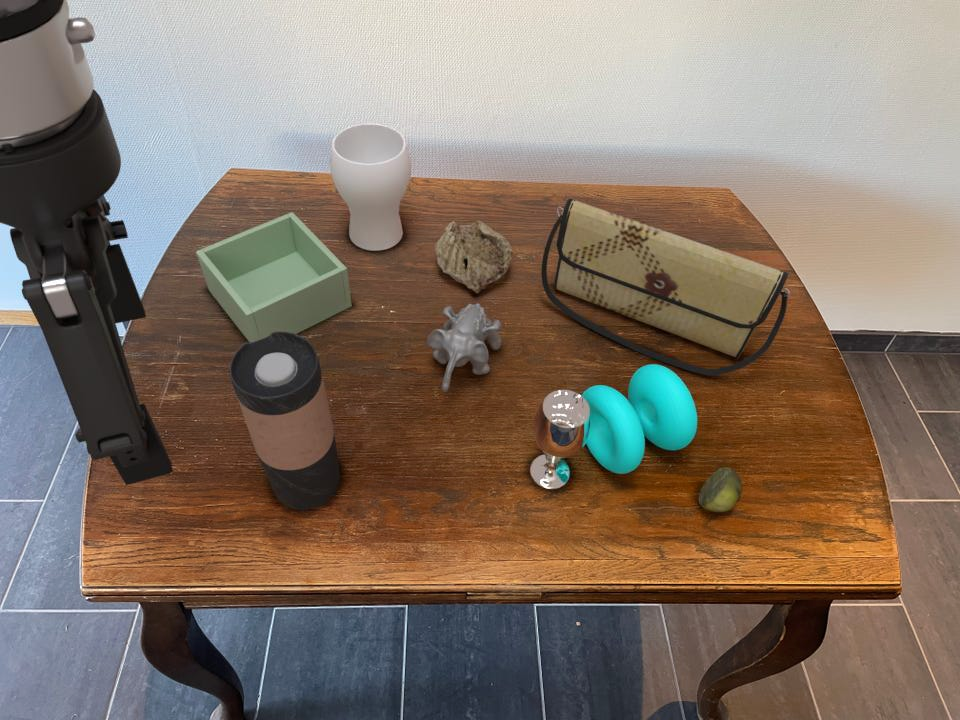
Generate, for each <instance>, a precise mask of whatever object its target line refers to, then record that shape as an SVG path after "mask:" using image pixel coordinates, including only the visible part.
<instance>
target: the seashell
mask: <svg viewBox="0 0 960 720" xmlns="http://www.w3.org/2000/svg"><path fill="white" fill-rule="evenodd" d="M434 252H435V254H436V258H437V265H438V267H439V268H440V269H441V270H442V273H444V274H448V275H449V276H450V278H452V280H453V279H454V281H455V282H457V283H460V284H462V285H465V286H466V288H467V289H469V290H471V291H473V292H474V293H475V294H479V293H480V292H481V290H485V289H486V287H487V286H488V285H489V284H491V283H493V282H496V281H498V280H500V279H501V278H502V276H504V275H506V273H507V271H508V269H509V268H510V266H511V260H512V259H513V254H514V251H513V249H512V246H511V243H510V241H508V240H507V238H506V237H505V236H504V235H502V234H500V233H499V232H497V231H495V230H493V229H492V228H491V227H490V226H489V225H487V224H486V223H485V222H483V221H481V220H477V221H475V222H472V223H470V224H466V225H465V224H462V225H459V224H457V223H456V221H454V220H452V221H451V222H449V223H448V224H447V226H446V227H445V228H444V229H443V233H442V235H441V236H440V238H439V239H438V240H437V242H436V244H435V245H434Z"/></svg>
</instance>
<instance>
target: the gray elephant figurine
mask: <svg viewBox="0 0 960 720" xmlns="http://www.w3.org/2000/svg"><path fill="white" fill-rule="evenodd" d="M485 310H486V309H485V307H482V306H481V304H480V303H479V302H478V303H477V302H476V303H475V304H473V303H467V305H466V307H462V308H460V311H459V312H458V313H455V312H454V310H453V307H452V306H451V305H448V306H446V307H444V308H443V310H442V315H443V316H444V317H447V318H448V320H447V321H446V322H444V324H443V326H442V328H437V329H434V330H432V331H431V332H430V333H429V335H428V337H427V339H426V345H427V346H428V347H429V348H431V349H432V350H434V351H433V353H432V356H433V358H434V360H436V361H437V362H438V363H439V364H441V365H446V364H447V365H446V369H445V372H444V375H443V379H442V383H441V389H442V392H448V390H449V389H450V386H451V378H452V374H453V371H454V368H455V367H456V368H461V367H463V366H465V365H466V364H467V363H468V362H470V364H471V365H472V370H471V371H472V373H473V374H474V375H478V376H480V375H486V374H488V373H489V372H490V371H491V368H490V365H489V363H488V362H489V357H490V356H489V355H490V354H489V350H488V348H487V347H488V346H487V345H486V343H485V341H487V342H488V344H489V347H490V348H491V349H492V350H494V351H498V350H499V349H500V348H501V346H502V344H503V341H502V337H501V336H500V334H499V331H502V327H503V324H502V323H501V322H500V320H498V319H495V320H494V321H492V320H491V319H490V318H488V315H487V314H486V313H485Z"/></svg>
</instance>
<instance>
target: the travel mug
mask: <svg viewBox="0 0 960 720" xmlns="http://www.w3.org/2000/svg"><path fill="white" fill-rule="evenodd" d="M322 372H323V371H322V367H321V363H320V358H319V355H318V352H317V349H316V348H315V346H314V345H313V344H312V343H311V342H310V341H309V340H308V339H306V338H305V337H303V336H302V335H299V334H298V333H297V334H294V333H289V332H273V333H271V334H270V335H269V336H268V337H266V338H263V339H261V340H258V341H255V342H249V341H246V342H244V343H243V344H241V346H239V348H238V349H237V350H236V351H235V353H234V354H233V356H232V358H231V360H230V364H229V377H230V381H231V383H232V386H233V390H234V392H235V395H236V399H237V401H238V404H239V407H240V409H241V412H242V415H243V418H244V421H245V424H246V427H247V430H248V433H249V435H250V439H251V441H252V445H253V447H254V450H255V453H256V455H257V457H258V459H259V462H260V465H261V467H262V469H263V471H264V474H265V476H266V478H267V481H268V483H269V486H270V488H271V489H272V492H273V494H274V496H275V498H276V499H277V500H278V501H279V502H280V503H281V504H282V505H284V507H286V508H289V509H292V510H297V511H309V510H313V509H316V508H319V507H321V506H322V505H324V504H326V503H327V502H328V501H330V500H331V499H332V498H333V496H335V493H336V492H337V490H338V488H339V485H340V480H341V474H340V473H341V472H340V465H339V457H338V450H337V444H336V436H335V430H334V424H333V419H332V414H331V411H330V405H329V400H328V395H327V392H326V391H327V390H326V387H325V383H324V382H325V381H324V377H323V373H322Z"/></svg>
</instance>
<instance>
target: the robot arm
mask: <svg viewBox="0 0 960 720" xmlns="http://www.w3.org/2000/svg"><path fill="white" fill-rule="evenodd" d="M69 6H70V5H69V4H68V1H67V0H0V224H2V225H6V226H8V227H12V228H10V229H9V236H10V239H11V243H12V247H13V250H14V251H15V255H16V258H17V259H18V261H19V262H21V263H22V264H23V265H24V266H25V268H26V270H27V273H28V276H29V279H24V280H22V282H21V286H22V288H21V294H22V297H23V298H24V300H25V301H26V302H27V304H28V306H29V307H30V310H31V311H32V314H33V315H34V317H35V319H36V321H37V323H38V325H39V327H40V329H41V331H42V334H43V336H44V339H45V342H46V344H47V346H48V350H49V352H50V354H51V358H52V360H53V362H54V365H55V367H56V369H57V372H58V375H59V378H60V380H61V383H62V386H63V387H64V391H65V393H66V395H67V398H68V400H69V403H70V406H71V409H72V410H73V413H74V415H75V419H76V421H77V424H78V427H79V428H78V429H77V430H76V432H75V434H74V437H75V439H76V441H77V443H84V442H85V445H86V450H87V454H88V455H90V459H92V460H93V461H98V460H101V459H105V458H110V460H111V462H112V463H113V465H114V467H115V469H116V471H117V472H118V474H119V475H120V477H121V479H122V481H123V483H124V484H125V486H130V485H132V484H136V483H139V482H144V481H147V480H150V479H154V478H158V477H162V476H165V475H170V474H173V473H174V470H173V465H172V461H171V458H170V456H169V454H168V452H167V450H166V447H165V446H164V443H163V441H162V439H161V437H160V435H159V432H158V430H157V427H156V426H155V423H154V421H153V419H152V416H151V415H150V412H149V410H148V408H147V406H146V403H140V401H139V398H138V397H139V396H138V394H137V391H136V388H135V385H134V381H133V378H132V374H131V371H130V367H129V364H128V360H127V358H126V354H125V351H124V348H123V343H122V341H121V337H120V334H119V330H118V327H117V324H120V323H125V322H131V321H135V320H140V319H144V318H147V314H146V310H145V307H144V304H143V302H142V299H141V297H140V294H139V291H138V289H137V285H136V283H135V281H134V279H133V276H132V273H131V271H130V268H129V265H128V263H127V260H126V257H125V255H124V251H123V250H122V247H121V245H120V243H115V244H111V241H117V240H125V239H129V235H128V230H127V227H126V225H125V222H124V220H123V219H121V220H113V221H111V220H109V218H107V217H108V216H111V212H110V210H111V209H112V208H111V204H110V202H108V201H107V199H106V197H105V194H107V193H108V191H109V190H110V189H111V188H112V187H113V186H114V184H115V183H116V182H117V179H118V178H119V175H120V171H121V168H122V167H121V166H122V159H121V153H120V150H119V147H118V144H117V141H116V138H115V135H114V132H113V129H112V126H111V123H110V119H109V116H108V114H107V111H106V108H105V104H104V102H103V100H102V97H101V96H100V94H99V93H98V91H96V90H95V89H94V88H95V86H94V77H93V73H92V70H91V67H90V65H89V61H88V59H87V56H86V53H85V50H84V48H83V45H82V44H88V43H91V42H93V41H94V39H95V38H96V32H95V29H94V25H93V24H92V23H91V22H90V21H89V19H88V18H86V17H80V16H78V17H71V18H70V7H69Z"/></svg>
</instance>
